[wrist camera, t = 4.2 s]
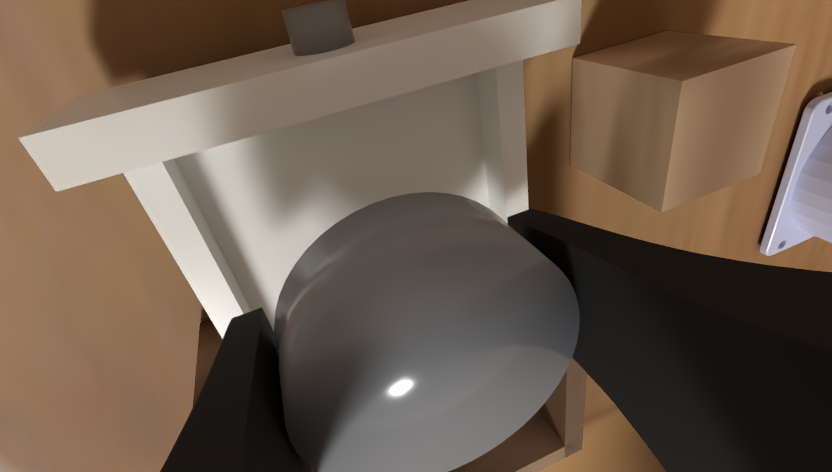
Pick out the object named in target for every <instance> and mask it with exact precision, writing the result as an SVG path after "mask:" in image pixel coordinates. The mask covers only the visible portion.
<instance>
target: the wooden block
mask: <svg viewBox="0 0 832 472" xmlns="http://www.w3.org/2000/svg"><path fill="white" fill-rule="evenodd" d="M796 45H797V44H789V43H779V42H769V41H760V40H750V39H740V38H731V37H721V36H712V35H702V34H692V33H683V32H673V31H664V32H661V33H657V34H654V35H650V36H647V37H644V38H640V39H637V40H633V41H630V42H626V43H623V44H619V45H616V46H612V47H609V48H606V49H602V50H599V51H595V52H592V53H588V54H585V55H581V56H578V57H575V58H573V64H572V108H571V152H570V165H572V166H574V167H576V168H578V169H580V170H582V171H584V172H586V173H588V174H589V175H591V176H593V177H595V178H597V179H599V180H601V181H603V182H605V183H607V184H608V185H610V186H612V187H614V188H616V189H618V190H620V191H622V192H624V193H626V194H628V195H629V196H631V197H633V198H635V199H637V200H639V201H641V202H643V203H645V204H647V205H648V206H650V207H652V208H654V209H656V210H658V211H660V212H664V211H666V210H669V209H671V208H674V207H676V206H679V205H681V204H684V203H686V202H689V201H691V200H694V199H696V198H699V197H702V196H704V195H707V194H709V193H712V192H714V191H717V190H719V189H722V188H724V187H727V186H729V185H732V184H734V183H737V182H740V181H742V180H745V179H747V178H750V177H752V176H755V175H757V174H760V171H761V167H762V164H763V160H764V157H765V153H766V150H767V146H768V143H769V139H770V136H771V132H772V129H773V125H774V122H775V119H776V115H777V112H778V108H779V105H780V101H781V98H782V94H783V91H784V87H785V84H786V80H787V77H788V73H789V70H790V66H791V63H792V59H793V56H794V52H795V49H796Z"/></svg>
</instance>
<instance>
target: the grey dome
mask: <svg viewBox="0 0 832 472" xmlns="http://www.w3.org/2000/svg"><path fill="white" fill-rule="evenodd" d="M579 323H580V314H579V306H578V301H577V298H576V294H575V291H574V289H573V287H572V285H571V283H570V282H569V280H568V278H567V277H566V276H565V275H564V273H563V272H562V271H561V270H560V269H559V268H558V267H557V266H556V265H555V264H554V263H553V262H552V261H550V260H549V259H548V258H547V257H546V256H545V255H543V254H542V253H541V252H540V251H539V250H538V249H536V248H535V247H534V246H533V245H532V244H531V243H530V242H528V241H527V240H526V239H525V238H524V237H523V236H521V235H520V234H519V233H518V232H517V231H516V230H515V229H513V228H512V227H511V226H510V225H509V224H508V223H506V222H505V221H504V220H503V219H502V218H501V217H499V216H498V215H497V214H496V213H494V212H493V211H492V210H491V209H489V208H488V207H486V206H484V205H482V204H480V203H479V202H477V201H474V200H471V199H469V198H466V197H463V196H459V195H454V194H449V193H438V192H422V193H410V194H405V195H400V196H395V197H390V198H387V199H384V200H381V201H378V202H375V203H372V204H370V205H368V206H366V207H364V208H361V209H359V210H357V211H355V212H353V213H352V214H350V215H348V216H347V217H345V218H343V219H342V220H340V221H338V222H337V223H336V224H334V225H333V226H332V227H330V228H329V229H328V230H327V231H325V232H324V233H323V234H322V235H320V236H319V237H318V238H317V239H316V240H315V241H314V242H313V243H312V244H311V245H310V246H309V247H308V248H307V249H306V251H305V252H304V253H303V254H302V256H301V257H300V258H299V260H298V261H297V262H296V263H295V265H294V267H293V268H292V270H291V272H290V273H289V275H288V277H287V279H286V280H285V283H284V285H283V288H282V290H281V292H280V295H279V298H278V302H277V306H276V310H275V320H274V334H275V343H276V352H277V360H278V369H279V377H280V386H281V394H282V403H283V411H284V420H285V427H286V430H287V433H288V436H289V439H290V442H291V443H292V445H293V447H294V448H295V450H296V452H297V453H298V454H299V455H300V457H301V458H302V459H303V460H304V461H305V462H306V463H307V464H308V465H310V466H311V467H312V468H314V469H315V470H316V471H318V472H448V471H451V470H454V469H456V468H458V467H460V466H462V465H465V464H467V463H469V462H471V461H473V460H475V459H476V458H478V457H480V456H482V455H483V454H485V453H487V452H488V451H490V450H491V449H493V448H495V447H496V446H498V445H499V444H501V443H502V442H503V441H505V440H506V439H507V438H509V437H510V436H511V435H512V434H514V433H515V432H516V431H517V430H518V429H520V428H521V427H522V426H523V425H524V424H525V423H526V422H527V421H528V420H529V419H530V418H531V417H532V416H533V415H534V414H535V413H536V412H537V411H538V410H539V409H540V408H541V407H542V405H543V404H544V403H545V402H546V401H547V400H548V398H549V397H550V396H551V394H552V393H553V391H554V390H555V389H556V387H557V386H558V384H559V382H560V381H561V379H562V377H563V376H564V374H565V372H566V370H567V368H568V366H569V363H570V361H571V359H572V357H573V353H574V350H575V347H576V344H577V339H578V334H579Z"/></svg>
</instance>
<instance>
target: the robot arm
mask: <svg viewBox="0 0 832 472" xmlns="http://www.w3.org/2000/svg"><path fill="white" fill-rule="evenodd" d="M507 220H508V224H509V225H510V226H511V227H512V228H513V229H515V230H516V231H517V232H518V233H519V234H520V235H521V236H523V237H524V238H525V239H526V240H527V241H528V242H530V243H531V244H532V245H533V246H534V247H535V248H536V249H538V250H539V251H540V252H541V253H542V254H543V255H545V256H546V257H547V258H548V259H549V260H550V261H552V262H553V263H554V264H555V265H556V266H557V267H558V268H559V269H560V270H561V271H562V272H563V273H564V275H565V276H566V277H567V278H568V280H569V282H570V283H571V285H572V287H573V289H574V291H575V294H576V298H577V301H578V306H579V314H580V323H579V334H578V339H577V344H576V347H575V350H574V353H573V357H572V358H573V359H574V360H575V361H576V362H577V363H578V364H579V365H580V366H581V367H582V368H583V369H584V370H585V371H586V372H587V373H588V375H589V376H590V377H591V378H592V379H593V380H594V381H595V382H596V383H597V384H598V385H599V386H600V387H601V388H602V389H603V391H604V392H605V393H606V394H607V395H608V396H609V397H610V399H611V400H612V401H613V402H614V403H615V404H616V406H617V407H618V408H619V409H620V411H621V412H622V413H623V415H624V416H625V417H626V418H627V420H628V421H629V422H630V424H631V425H632V426H633V428H634V429H635V430H636V431H637V433H638V434H639V435H640V437H641V438H642V439H643V440H644V442H645V443H646V444H647V446H648V447H649V448H650V450H651V451H652V453H653V454H654V455H655V457H656V458H657V459H658V461H659V462H660V463H661V465H662V466H663V467H664V469H665V470H666V471H667V472H832V272H822V271H812V270H804V269H795V268H787V267H779V266H770V265H763V264H756V263H749V262H743V261H737V260H731V259H726V258H720V257H715V256H709V255H703V254H698V253H693V252H689V251H684V250H679V249H675V248H671V247H667V246H663V245H659V244H655V243H650V242H646V241H643V240H639V239H635V238H631V237H628V236H624V235H620V234H617V233H613V232H610V231H607V230H603V229H600V228H596V227H593V226H590V225H586V224H583V223H580V222H577V221H573V220H570V219H567V218H563V217H560V216H556V215H553V214H549V213H546V212H542V211H538V210H533V209H528V210H526V211H523V212H520V213H518V214H515V215H512V216H509V217H507ZM814 236H816V237H819V238H821V239H823V240H826V241H828V242H830V243H832V92H830V93H827V94H824V95H821V96H819V97H816V98H814V99H813V100H811V101H810V102H809V103H808V104H807V106H806V107H805V109H804V112H803V115H802V118H801V121H800V124H799V127H798V130H797V133H796V136H795V140H794V143H793V146H792V149H791V152H790V155H789V158H788V161H787V165H786V168H785V171H784V174H783V177H782V180H781V183H780V186H779V190H778V193H777V196H776V199H775V202H774V205H773V208H772V211H771V215H770V218H769V221H768V224H767V227H766V230H765V233H764V236H763V240H762V243H761V246H760V252H761V253H763V254H765V255H767V256H771V255H774V254H776V253H778V252H780V251H783V250H785V249H787V248H789V247H791V246H794V245H796V244H798V243H800V242H803V241H805V240H807V239H809V238H811V237H814ZM160 472H311V466H310V465H308V464H307V463H306V462H305V461H304V460H303V459H302V458H301V457H300V455H299V454H298V453H297V452H296V450H295V448H294V447H293V445H292V443H291V442H290V439H289V436H288V433H287V430H286V427H285V420H284V411H283V403H282V394H281V386H280V377H279V369H278V360H277V352H276V343H275V334H274V330H273V328H272V326H271V324H270V322H269V320H268V318H267V316H266V314H265V312H264V310H263V308H262V307H261V308H258V309H256V310H253V311H250V312H248V313H245V314H242V315H239V316H237V317H234V318H232V319H231V321H230V323H229V325H228V327H227V329H226V332H225V334H224V337H223V339H222V342H221V344H220V347H219V349H218V352H217V354H216V357H215V359H214V361H213V364H212V366H211V369H210V371H209V373H208V376H207V378H206V380H205V382H204V384H203V387H202V389H201V391H200V393H199V396H198V398H197V400H196V402H195V404H194V407H193V409H192V411H191V413H190V415H189V417H188V419H187V421H186V423H185V425H184V427H183V429H182V431H181V433H180V435H179V437H178V439H177V441H176V443H175V444H174V446H173V448H172V450H171V452H170V454H169V456H168V458H167V460H166V462H165V464H164V466H163V467H162V469H161V471H160Z"/></svg>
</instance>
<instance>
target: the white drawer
mask: <svg viewBox="0 0 832 472" xmlns="http://www.w3.org/2000/svg"><path fill="white" fill-rule="evenodd" d="M581 4H582V0H468V1H464V2H460V3H456V4H452V5H447V6H443V7H439V8H435V9H431V10H427V11H423V12H419V13H415V14H411V15H406V16H402V17H398V18H394V19H390V20H386V21H382V22H378V23H374V24H370V25H365V26H361V27H357V28H353V29H352V26H351V22H350V18H349V13H348V9H347V5H346V1H345V0H322V1H317V2H312V3H308V4H304V5H299V6H295V7H292V8H288V9H285V10H283V11H281V13H282V17H283V20H284V23H285V26H286V30H287V33H288V36H289V39H290V43H291V44H287V45H283V46H279V47H275V48H271V49H267V50H263V51H259V52H255V53H251V54H246V55H242V56H238V57H234V58H230V59H226V60H222V61H218V62H214V63H210V64H205V65H201V66H197V67H193V68H189V69H185V70H181V71H177V72H173V73H169V74H164V75H160V76H156V77H152V78H148V79H144V80H140V81H136V82H132V83H127V84H123V85H119V86H115V87H111V88H107V89H103V90H99V91H95V92H91V93H86V94H82V95H78V96H76V97H74V98H73V99H72V100H70V101H69V102H67V103H66V104H65V105H63V106H62V107H61V108H59V109H58V110H56V111H55V112H54V113H52V114H51V115H49V116H48V117H47V118H45V119H44V120H43V121H41V122H40V123H38V124H37V125H36V126H34V127H33V128H31V129H30V130H29V131H27V132H26V133H25V134H23V135H22V136H20V137H19V140H20V141H21V143H22V144H23V145H24V147H25V148H26V150H27V151H28V153H29V154H30V155H31V157H32V158H33V160H34V161H35V162H36V164H37V165H38V167H39V168H40V169H41V171H42V172H43V174H44V175H45V176H46V178H47V179H48V181H49V182H50V184H51V185H52V186H53V188H54V189H55V191H56V192H57V191H61V190H64V189H68V188H72V187H75V186H79V185H82V184H86V183H89V182H93V181H96V180H100V179H103V178H107V177H110V176H114V175H117V174H121V173H123V174H124V175H125V177H126V179H127V180H128V182H129V184H130V185H131V187H132V189H133V190H134V192H135V194H136V195H137V197H138V199H139V200H140V202H141V204H142V205H143V207H144V209H145V210H146V212H147V214H148V215H149V217H150V219H151V220H152V222H153V224H154V225H155V227H156V229H157V230H158V232H159V234H160V235H161V237H162V239H163V240H164V242H165V244H166V245H167V247H168V249H169V250H170V252H171V254H172V255H173V257H174V259H175V260H176V262H177V264H178V266H179V267H180V269H181V271H182V272H183V274H184V276H185V277H186V279H187V281H188V282H189V284H190V286H191V287H192V289H193V291H194V292H195V294H196V296H197V297H198V299H199V301H200V302H201V304H202V306H203V307H204V309H205V311H206V312H207V314H208V316H209V317H210V319H211V321H212V322H213V324H214V326H215V327H216V329H217V331H218V332H219V334H220V336H221V337H222V339H223V337H224V334H225V332H226V329H227V327H228V325H229V323H230V321H231V319H232V318H234V317H237V316H239V315H242V314H245V313H248V312H250V311H253V310H256V309H258V308H261V307H262V308H263V310H264V312H265V314H266V316H267V318H268V320H269V322H270V324H271V326H272V328H273V330H274V320H275V310H276V306H277V302H278V298H279V295H280V292H281V290H282V288H283V285H284V283H285V280H286V279H287V277H288V275H289V273H290V272H291V270H292V268H293V267H294V265H295V263H296V262H297V261H298V260H299V258H300V257H301V256H302V254H303V253H304V252H305V251H306V249H307V248H308V247H309V246H310V245H311V244H312V243H313V242H314V241H315V240H316V239H317V238H318V237H319V236H320V235H322V234H323V233H324V232H325V231H327V230H328V229H329V228H330V227H332V226H333V225H334V224H336V223H337V222H338V221H340V220H342V219H343V218H345V217H347V216H348V215H350V214H352V213H353V212H355V211H357V210H359V209H361V208H364V207H366V206H368V205H370V204H372V203H375V202H378V201H381V200H384V199H387V198H390V197H395V196H400V195H405V194H410V193H422V192H438V193H449V194H454V195H459V196H463V197H466V198H469V199H471V200H474V201H477V202H479V203H480V204H482V205H484V206H486V207H488V208H489V209H491V210H492V211H493V212H494V213H496V214H497V215H498V216H499V217H501V218H502V219H503V220H504V221H505V222H506V223H508V220H507V217H509V216H512V215H515V214H518V213H520V212H523V211H526V210H528V209H529V208H528V180H527V153H526V126H525V99H524V71H523V60H524V59H527V58H531V57H534V56H538V55H542V54H545V53H549V52H552V51H556V50H559V49H563V48H566V47H570V46H573V45H577V44H580V36H581Z"/></svg>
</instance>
